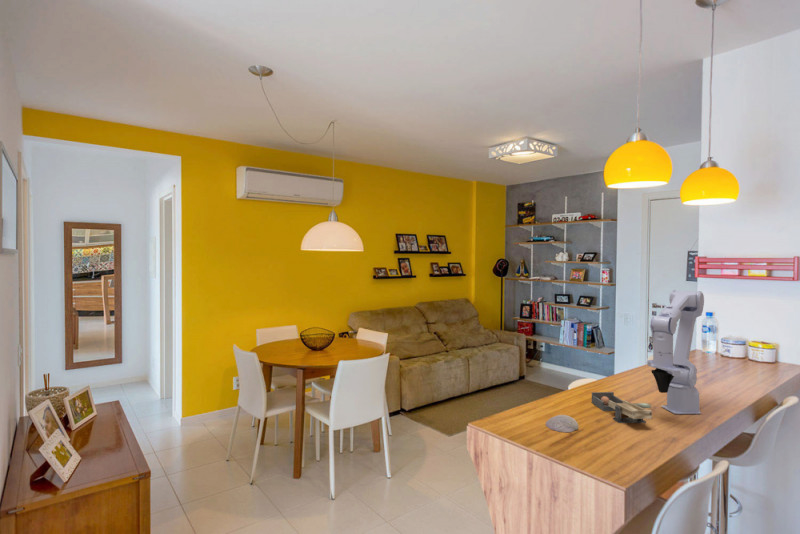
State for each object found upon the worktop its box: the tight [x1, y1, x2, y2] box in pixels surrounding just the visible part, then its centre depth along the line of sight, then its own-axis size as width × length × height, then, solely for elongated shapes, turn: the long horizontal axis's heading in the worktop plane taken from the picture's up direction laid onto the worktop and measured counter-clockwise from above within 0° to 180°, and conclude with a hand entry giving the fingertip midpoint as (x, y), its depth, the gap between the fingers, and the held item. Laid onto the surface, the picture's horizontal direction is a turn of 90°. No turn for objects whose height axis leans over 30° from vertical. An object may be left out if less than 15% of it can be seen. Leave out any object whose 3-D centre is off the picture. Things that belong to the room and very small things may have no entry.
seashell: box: [545, 414, 579, 433], centre depth 142 cm, size 10×6×10 cm
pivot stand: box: [612, 405, 647, 424], centre depth 146 cm, size 9×4×5 cm, turn 91°
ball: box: [601, 396, 609, 406], centre depth 163 cm, size 3×3×3 cm
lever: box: [608, 399, 653, 420], centre depth 146 cm, size 13×16×2 cm
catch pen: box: [591, 391, 623, 412], centre depth 160 cm, size 8×9×4 cm
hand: (663, 392), depth 145 cm, fingers closed
